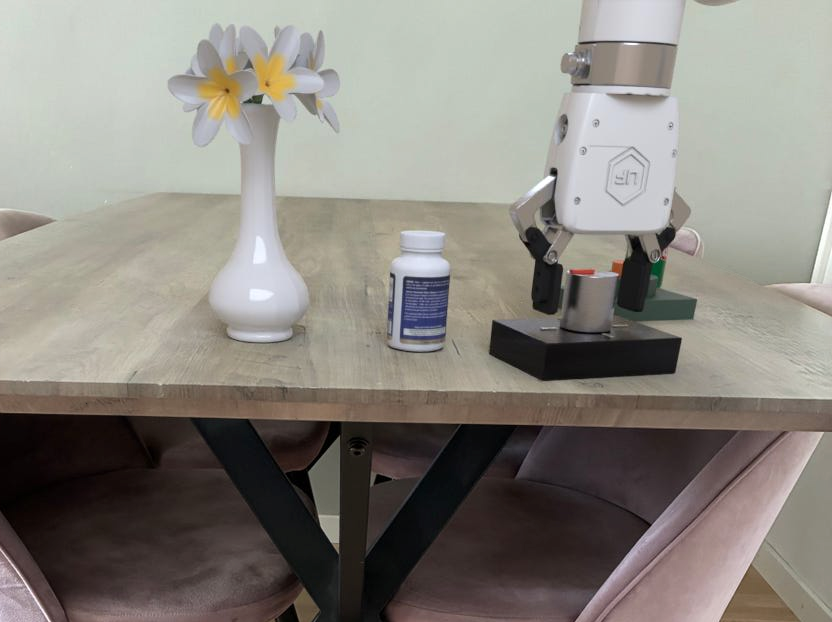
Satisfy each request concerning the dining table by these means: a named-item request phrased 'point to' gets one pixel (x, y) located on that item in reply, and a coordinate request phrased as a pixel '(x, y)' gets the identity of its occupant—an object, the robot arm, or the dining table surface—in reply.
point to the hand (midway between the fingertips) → (587, 309)
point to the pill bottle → (418, 293)
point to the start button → (617, 266)
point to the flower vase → (256, 162)
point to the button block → (655, 305)
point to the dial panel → (583, 349)
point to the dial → (589, 300)
